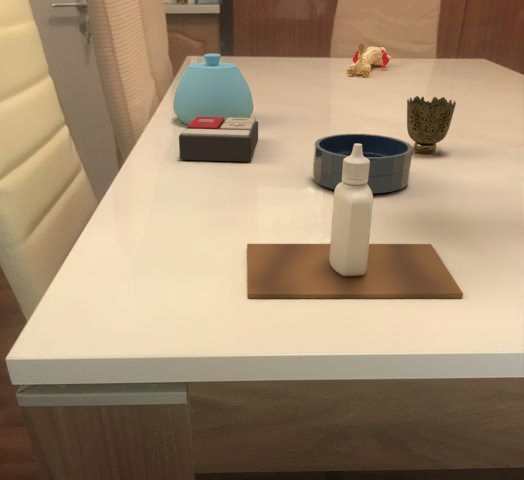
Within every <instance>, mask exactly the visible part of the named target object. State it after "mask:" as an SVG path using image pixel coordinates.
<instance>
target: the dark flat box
mask: <svg viewBox="0 0 524 480" xmlns="http://www.w3.org/2000/svg"><path fill="white" fill-rule="evenodd" d="M258 140H259V121H258V120H256V118H255V117H249V118H227V119H226V120H224V117H196V118H195V119H194V120H193V121H192V122H191V123H190V124H189V125H187V126H186V128H185V129H184V130H182V132H181V133H180V134H179V135H178V148H179V159H180V160H181V161H210V162H211V161H212V162H213V161H216V162H244V163H245V162H247V163H248V162H249V163H250V162H251V161H252V159H253V157H254V151H255V148H256V145H257V143H258Z"/></svg>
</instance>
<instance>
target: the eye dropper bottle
mask: <svg viewBox="0 0 524 480" xmlns="http://www.w3.org/2000/svg"><path fill="white" fill-rule="evenodd" d="M369 165H370V160H369V159H367V158H366V157H364V156H363V152H362V144H358V143H356V144H354V146H353V150H352V154H351V155H350V156H349V157H346V158H344V160H343V171H342V181H343V182H340V183H339V184H338V185H337V186H336V188H335V190H334V191H333V202H332V203H333V204H332V216H331V229H330V232H331V233H330V243H329V244H330V257H329V259H330V264H331V266H332V268H333V269H334V270H335V271H336V272H338V273H339V274H341V275H343V276H361V275H364V274H365V273H366V269H367V259H368V250H369V244H370V240H371V228H372V222H373V221H372V220H373V210H374V209H373V208H374V194H372V191H371V189H370V187H369V186H368V184H367V182H368V175H369Z"/></svg>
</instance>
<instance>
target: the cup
mask: <svg viewBox="0 0 524 480" xmlns="http://www.w3.org/2000/svg"><path fill="white" fill-rule="evenodd" d="M406 105H407V106H406V129H407V135H408V137H409V138H410V139H411V140H412V141H413V142H414V143H413V146H412V147H413V150H414V151H415V153H418V154H422V155H429V154H434V153H435V152H436V150H437V148H438V147H437V144H438V143H440V142H441V141H444V139H445V138H446V136H447V134H448V133H449V130H450V126H451V123H452V119H453V115H454V113H455V107H456V105H457V102H456V100H454V101H453V99H450V100H448V99H446V97H444V96H443V97H440V98H437V97H436V96H434V97H433V98H432V99H431V101H429V100H428V101H426V100H425V97H424V96H421V98H420V97H419V95H416V96H414V98H412V97H409V98H407V101H406Z"/></svg>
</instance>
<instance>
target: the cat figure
mask: <svg viewBox="0 0 524 480" xmlns="http://www.w3.org/2000/svg"><path fill="white" fill-rule="evenodd" d="M364 50H365V52H364V53H363V51H364ZM390 61H392V56H390V55H389V54H388V53H387V49H386V47H384V46H383V47H381V46H369V47H367V48H365V45H364V43H359V44H358V48H357V50H356V51H355V52H354V56H353V57H352V62H353V63H351V64H350V65H349V69H347V70H346V74H347V75H348V77H350V76H353V77H354V75H356V74H358V75H360V76H362V77H363V76H367V77H368V76H369V75H370V73H371V70H372V65H370V64H377V65H376V66H380V69H381V68H382V69H383V68H386V66H387V65H388V64H389V62H390Z"/></svg>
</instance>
